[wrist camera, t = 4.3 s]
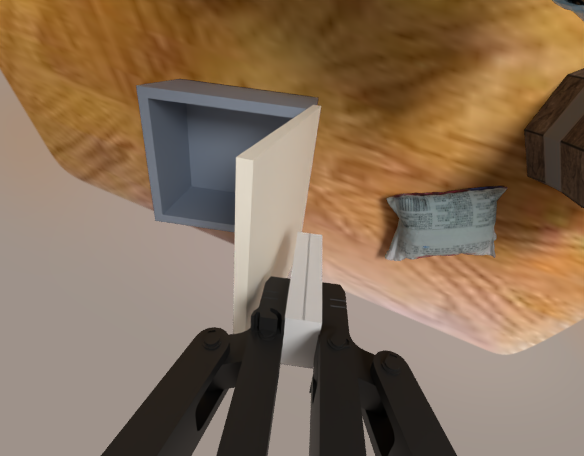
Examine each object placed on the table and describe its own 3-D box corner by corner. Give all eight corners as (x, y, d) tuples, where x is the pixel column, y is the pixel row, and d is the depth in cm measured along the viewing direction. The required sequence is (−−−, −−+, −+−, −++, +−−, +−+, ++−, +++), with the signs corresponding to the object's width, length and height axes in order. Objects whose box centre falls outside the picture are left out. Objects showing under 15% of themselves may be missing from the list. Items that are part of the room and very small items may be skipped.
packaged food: (482, 244, 36) (504, 269, 32) (382, 250, 38) (389, 274, 33) (496, 176, 32) (523, 194, 27) (383, 186, 34) (391, 204, 29)
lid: (236, 157, 10) (253, 160, 10) (313, 104, 22) (321, 105, 22) (232, 385, 16) (242, 388, 16) (293, 246, 28) (299, 248, 28)
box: (180, 78, 30) (136, 85, 23) (318, 97, 29) (316, 110, 22) (188, 189, 36) (155, 220, 29) (302, 205, 35) (297, 241, 28)
